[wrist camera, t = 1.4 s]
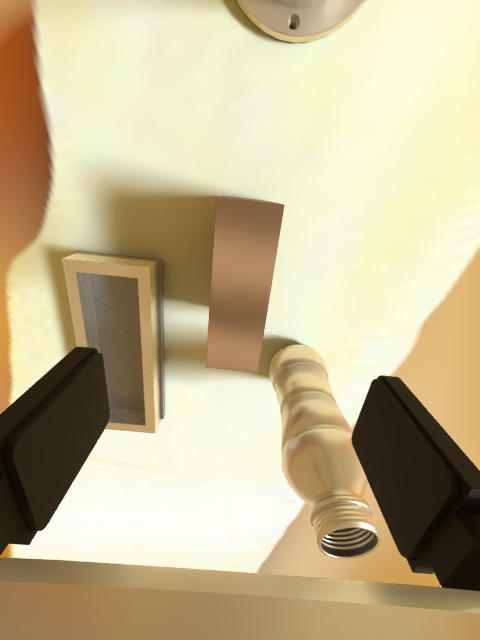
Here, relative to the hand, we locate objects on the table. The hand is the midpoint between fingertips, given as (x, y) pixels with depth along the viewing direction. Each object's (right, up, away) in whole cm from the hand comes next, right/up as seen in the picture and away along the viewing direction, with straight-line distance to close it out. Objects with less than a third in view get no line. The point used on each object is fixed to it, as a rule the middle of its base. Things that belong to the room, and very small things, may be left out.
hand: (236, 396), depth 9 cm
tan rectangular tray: (-14, 0, +24) cm, 28 cm away
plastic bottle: (+7, -2, +25) cm, 26 cm away
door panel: (0, +9, +20) cm, 22 cm away
